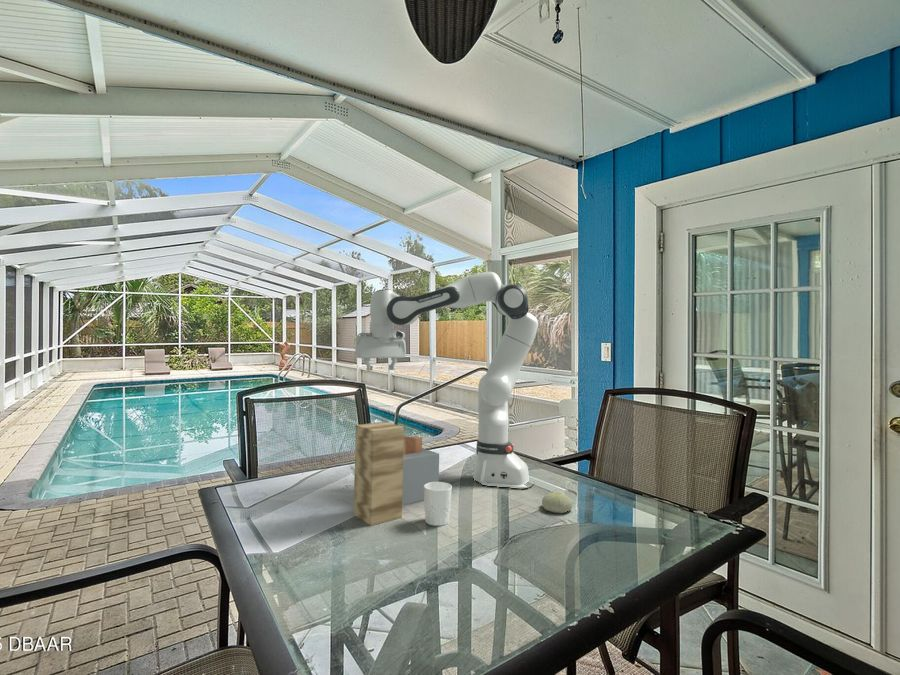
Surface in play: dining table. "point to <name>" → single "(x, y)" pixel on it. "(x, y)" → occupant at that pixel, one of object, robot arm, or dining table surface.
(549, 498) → the sea urchin shell
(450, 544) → the dining table surface
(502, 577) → the dining table surface
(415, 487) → the low block
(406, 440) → the terracotta notched block
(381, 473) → the pedestal
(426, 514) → the white cup
